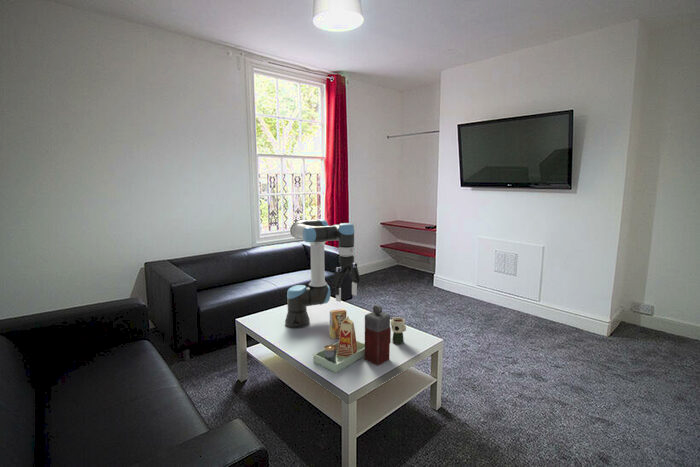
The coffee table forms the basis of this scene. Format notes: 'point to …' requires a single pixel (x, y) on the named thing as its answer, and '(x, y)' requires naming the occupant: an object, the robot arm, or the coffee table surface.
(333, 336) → the candy box
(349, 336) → the milk carton
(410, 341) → the coffee table surface
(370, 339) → the toy vending machine
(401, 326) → the character mug
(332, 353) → the coffee tin
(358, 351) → the pale green tray
